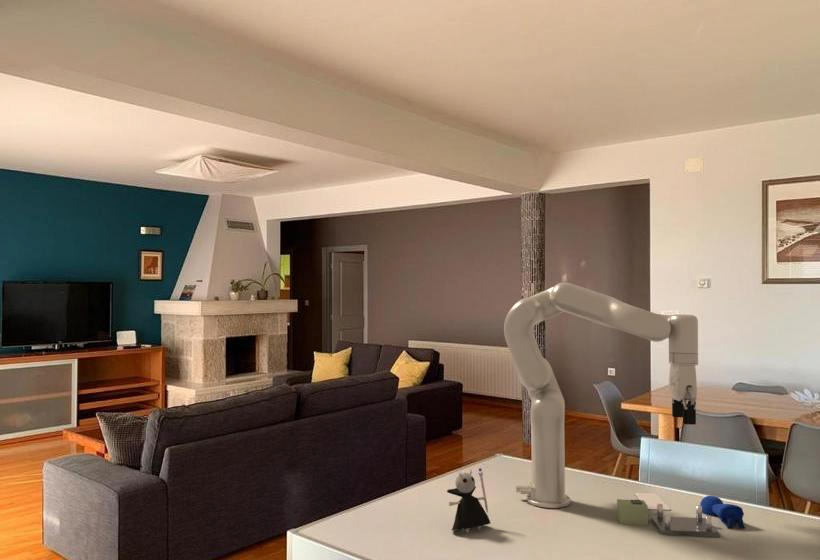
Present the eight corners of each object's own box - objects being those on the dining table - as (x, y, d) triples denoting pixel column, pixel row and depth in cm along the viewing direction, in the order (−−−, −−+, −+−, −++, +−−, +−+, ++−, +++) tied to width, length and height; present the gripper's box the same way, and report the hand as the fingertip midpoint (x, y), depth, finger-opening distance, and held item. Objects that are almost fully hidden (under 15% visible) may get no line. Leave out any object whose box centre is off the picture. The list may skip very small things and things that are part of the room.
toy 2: (749, 531, 163) (717, 509, 178) (749, 507, 163) (718, 487, 178) (723, 532, 163) (694, 509, 178) (723, 508, 162) (694, 487, 177)
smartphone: (646, 509, 177) (633, 492, 192) (646, 511, 177) (633, 494, 192) (672, 510, 176) (657, 493, 191) (672, 512, 176) (657, 494, 191)
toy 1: (460, 535, 156) (450, 472, 161) (447, 535, 162) (438, 474, 166) (499, 527, 162) (489, 466, 166) (485, 526, 167) (475, 468, 172)
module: (620, 523, 167) (620, 503, 167) (617, 517, 171) (616, 497, 171) (647, 525, 166) (647, 504, 166) (643, 518, 170) (643, 498, 170)
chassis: (660, 534, 159) (660, 515, 159) (650, 520, 169) (650, 502, 169) (719, 537, 157) (718, 518, 157) (705, 522, 167) (705, 504, 167)
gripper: (660, 355, 185) (660, 414, 184) (678, 362, 167) (679, 426, 167) (687, 355, 184) (687, 414, 183) (708, 362, 167) (708, 427, 166)
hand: (683, 420), depth 175 cm, fingers open, 9 cm apart
